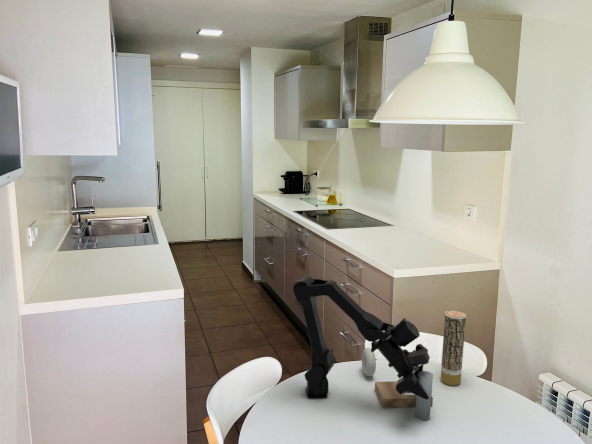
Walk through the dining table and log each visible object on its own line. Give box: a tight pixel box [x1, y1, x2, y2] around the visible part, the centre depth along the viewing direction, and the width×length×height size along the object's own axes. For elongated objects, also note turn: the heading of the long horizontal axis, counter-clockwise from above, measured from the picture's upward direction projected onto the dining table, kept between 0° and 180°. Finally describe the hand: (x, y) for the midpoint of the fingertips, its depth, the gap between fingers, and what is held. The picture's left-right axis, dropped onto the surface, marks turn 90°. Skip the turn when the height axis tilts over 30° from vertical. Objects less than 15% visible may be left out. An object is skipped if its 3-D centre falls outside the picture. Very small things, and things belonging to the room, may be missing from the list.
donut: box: [361, 347, 377, 377], centre depth 176 cm, size 10×4×10 cm, turn 6°
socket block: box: [374, 380, 434, 409], centre depth 161 cm, size 16×11×3 cm
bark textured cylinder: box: [440, 310, 467, 387], centre depth 171 cm, size 7×7×25 cm
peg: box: [414, 370, 434, 422], centre depth 150 cm, size 4×4×14 cm
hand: (428, 394), depth 149 cm, fingers closed on peg, 4 cm apart
